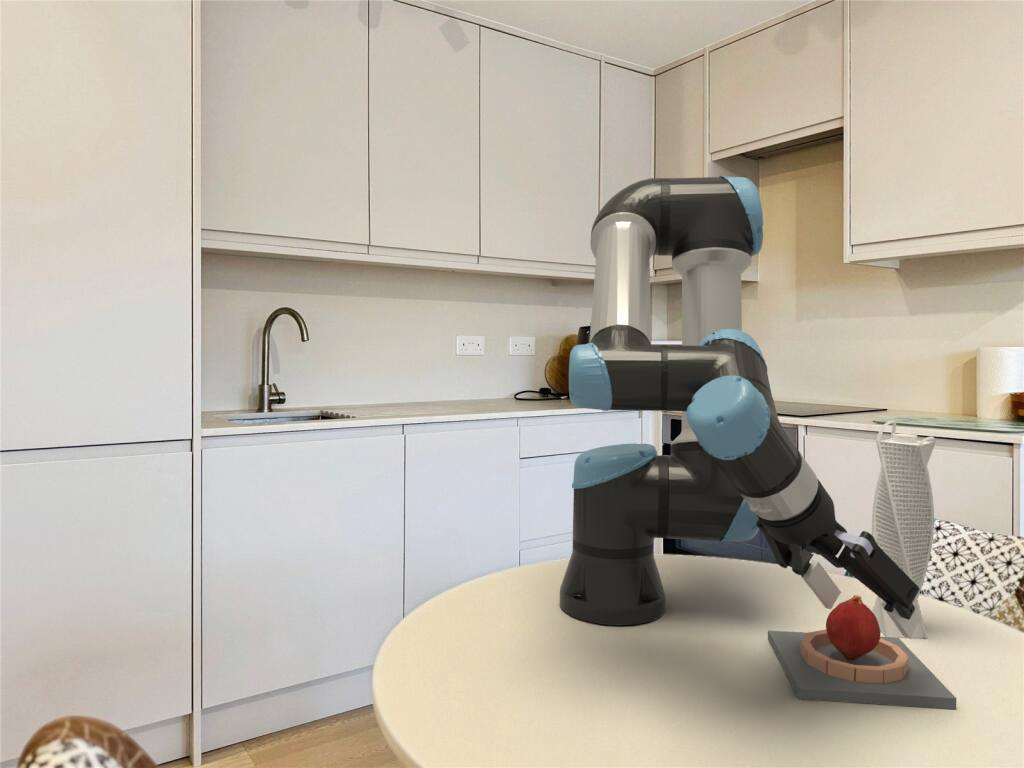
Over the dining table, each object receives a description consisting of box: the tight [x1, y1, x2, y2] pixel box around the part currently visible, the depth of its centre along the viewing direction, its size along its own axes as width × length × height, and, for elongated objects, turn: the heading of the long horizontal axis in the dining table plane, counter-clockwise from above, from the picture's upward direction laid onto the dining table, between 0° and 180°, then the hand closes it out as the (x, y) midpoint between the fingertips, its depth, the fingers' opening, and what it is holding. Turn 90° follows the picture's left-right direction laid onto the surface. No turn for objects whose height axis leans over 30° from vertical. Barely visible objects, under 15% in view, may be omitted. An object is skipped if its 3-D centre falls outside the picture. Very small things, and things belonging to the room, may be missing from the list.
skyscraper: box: [871, 419, 936, 640], centre depth 100 cm, size 8×8×28 cm
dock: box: [767, 628, 957, 710], centre depth 88 cm, size 16×16×3 cm
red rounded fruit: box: [825, 594, 881, 661], centre depth 88 cm, size 6×6×8 cm
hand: (870, 613), depth 89 cm, fingers open, 9 cm apart
